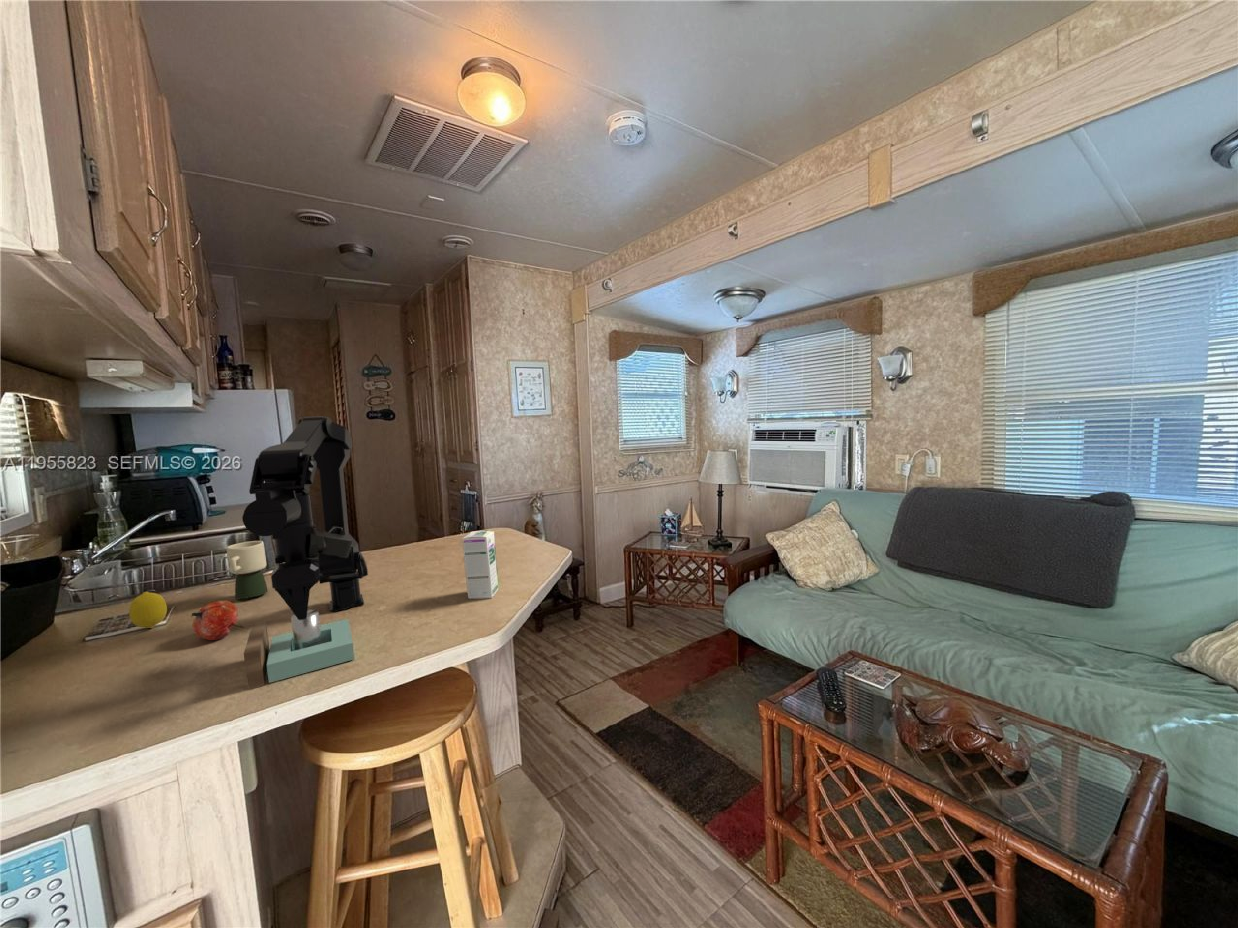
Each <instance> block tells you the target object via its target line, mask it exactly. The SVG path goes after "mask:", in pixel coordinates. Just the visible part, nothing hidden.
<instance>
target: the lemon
mask: <svg viewBox="0 0 1238 928" xmlns="http://www.w3.org/2000/svg"><path fill="white" fill-rule="evenodd" d="M167 612H168V607H167V603H166V600H165V598H164V597H163V596H162V595H160V594H158V593H156V592H149V591H143V592H142V593H141V594H140V595H138V596H136V597H135V598H134V599H133V600H132V601H131V603H130V605H129V608H128V615H129V619H130V621H131V622H132V624H134V625H135V626H136V627H139V628H145V629H146V628H147V629H148V628H150V627H153V626H155V627H156V625H158V624H159V623H161V622H162V621H163V620H164V619H165V617H166V616H167Z"/></svg>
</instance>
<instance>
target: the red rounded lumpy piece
mask: <svg viewBox="0 0 1238 928" xmlns="http://www.w3.org/2000/svg"><path fill="white" fill-rule="evenodd" d="M238 614H239V613H238V608H237V606H236V605H235V604H234V603H232V602H231V601H229V600H224V599H222V600H215V601H213V602H210V603H207V605H205V606H204V607H201V609H199V610H198V611H197V612H192V613H191V618H192V617H193V616H194V617H195V618H194V619H193V621H192V628H193V631H194V632H195V635H196V636H198V637H199V638H203V639H206V640H208V641H217V640H222V639H224V638H225V637H226V636H228V635H229V634H230V632H231V627H237V628H241V629H243V628H242V627H243V626H242V625H239V624H236V623H237V622H238Z"/></svg>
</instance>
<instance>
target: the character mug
mask: <svg viewBox="0 0 1238 928" xmlns="http://www.w3.org/2000/svg"><path fill="white" fill-rule="evenodd" d="M226 557H227V560H228V564H229V568H228V571H229V573H231V574H235V575H236V577H235V583H234V584H235V585H234V586H235V587H234V588H235V589H234V592H235V594H234V596H235V597H234V598H235V599H236V600H242V599H247V600H250V599H251V598H253V597H259V596H262V595H265V594H266V593H268V591H269V590H268V585H267V582H266V579H265V576H264V572H262V570H264V569H265V568H266V567H267V558H266V549H265V545H264V541H263V540H253V541H252V540H251V541H243V542H238V543H234V544H231V545H228V546H226Z"/></svg>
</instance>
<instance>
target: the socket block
mask: <svg viewBox="0 0 1238 928" xmlns="http://www.w3.org/2000/svg"><path fill="white" fill-rule="evenodd" d="M320 629H321V637H322V644H319V645H315V646H311V647H307V648H303V649H299V650H295V645H294V637H293V631H290V632H288V633H283V634H278V635H275V636H272V637H271V640H270V644H269V649H270V650H269V655H268V661H267V678H268V683H269V684H270V683H271V684H272V683H274V682H277V681H280V680H284V679H287V678H289V679H290V678H291V677H295V676H299V675H303V674H306V673H310V672H314V671H317V670H321V669H323V668H328V667H332V666H335V665H339V664H342V663H345V662H349V661H353V660H355V652H354V644H353V643H354V642H353V637H352V633H351V626H350V621H349V618H347V619H342V620H337V621H334V622H329V623H325V624H320Z"/></svg>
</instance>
